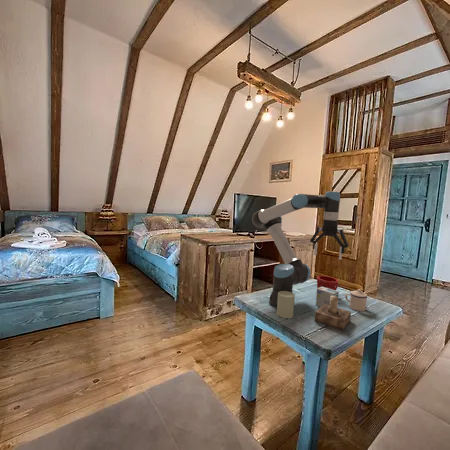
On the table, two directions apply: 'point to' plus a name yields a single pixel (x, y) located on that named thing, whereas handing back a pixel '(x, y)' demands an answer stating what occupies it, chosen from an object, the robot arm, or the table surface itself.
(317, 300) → the light bulb box
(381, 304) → the table surface
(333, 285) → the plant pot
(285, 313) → the can
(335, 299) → the dowel pin
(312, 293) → the table surface
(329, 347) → the table surface
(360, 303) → the teacup with lid
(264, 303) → the table surface
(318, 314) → the bore block
